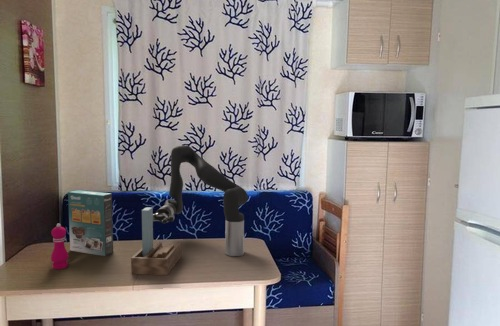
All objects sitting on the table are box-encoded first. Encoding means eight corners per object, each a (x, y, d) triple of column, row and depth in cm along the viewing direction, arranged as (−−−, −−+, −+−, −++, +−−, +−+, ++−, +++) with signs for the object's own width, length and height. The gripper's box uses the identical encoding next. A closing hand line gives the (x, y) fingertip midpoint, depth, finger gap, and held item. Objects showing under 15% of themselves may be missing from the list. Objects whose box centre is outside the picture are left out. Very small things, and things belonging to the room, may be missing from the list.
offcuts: (174, 260, 194) (174, 243, 193) (166, 270, 181) (166, 252, 180) (160, 259, 194) (160, 243, 194) (152, 269, 182) (151, 252, 181)
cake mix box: (113, 252, 204) (111, 193, 201) (105, 256, 198) (103, 195, 195) (79, 247, 212) (77, 190, 208) (70, 250, 206) (68, 192, 203)
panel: (153, 261, 191) (152, 207, 188) (149, 266, 185) (148, 210, 182) (147, 261, 191) (146, 207, 189) (142, 266, 185) (141, 210, 183)
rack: (180, 256, 198) (180, 242, 197) (167, 275, 175) (166, 259, 174) (149, 255, 199) (148, 241, 199) (131, 273, 176) (131, 257, 176)
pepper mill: (65, 262, 189) (63, 220, 186) (71, 266, 183) (69, 223, 181) (48, 266, 184) (47, 223, 181) (54, 270, 178) (52, 226, 176)
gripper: (151, 205, 214) (140, 213, 198) (178, 207, 213) (169, 214, 197) (151, 219, 215) (140, 228, 199) (178, 221, 214) (169, 229, 198)
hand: (155, 221), depth 198 cm, fingers open, 8 cm apart
